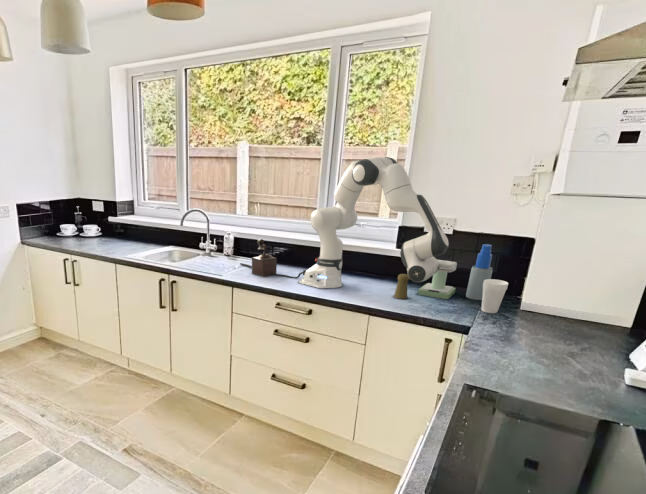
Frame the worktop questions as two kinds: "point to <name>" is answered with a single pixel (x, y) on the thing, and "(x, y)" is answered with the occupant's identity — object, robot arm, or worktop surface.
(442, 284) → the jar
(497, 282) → the foam cup
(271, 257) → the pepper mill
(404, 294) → the pepper shaker
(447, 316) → the worktop surface
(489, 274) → the spray bottle
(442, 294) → the scale
